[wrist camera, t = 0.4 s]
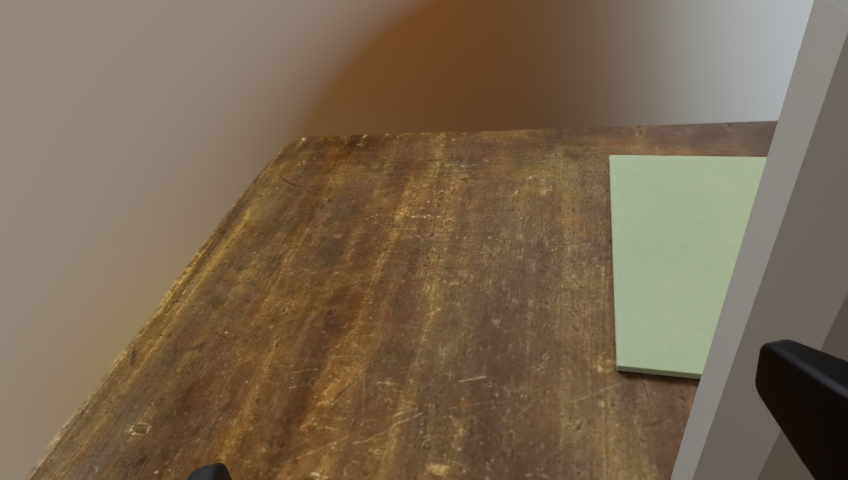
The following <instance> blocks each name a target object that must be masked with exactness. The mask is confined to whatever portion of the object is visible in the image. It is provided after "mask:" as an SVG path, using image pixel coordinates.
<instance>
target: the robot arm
mask: <svg viewBox="0 0 848 480" xmlns="http://www.w3.org/2000/svg"><path fill="white" fill-rule="evenodd" d="M755 385H756V389H757V392H758V394H759V396H760V398H761V399H762V401H763V402H764V404H765V405H766V407H767V408H768V410H769V411H770V413H771V414H772V416H773V417H774V419H775V421H776V422H777V424H778V425H779V427H780V428H781V430H782V431H783V433H784V434H785V436H786V437H787V439H788V441H789V442H790V444H791V445H792V447H793V448H794V450H795V451H796V453H797V454H798V456H799V457H800V459H801V461H802V462H803V464H804V465H805V466H806V468H807V469H808V471H809V472H810V474H811V475H812V476H813V478H814V479H815V480H848V361H846V360H843V359H840V358H838V357H835V356H832V355H830V354H827V353H825V352H822V351H819V350H817V349H814V348H811V347H809V346H806V345H803V344H801V343H798V342H796V341H793V340H789V339H783V340H778V341H773V342H769V343H765V344H763V346H762V347H761V348H760V352H759V358H758V364H757V370H756V377H755ZM187 480H232V479H231V477H230V474H229V472H228V470H227V468H226V466H225V465H224V464H222V463H215V464H211V465H206V466H201V467H198V468H196V469H195V470H194V471H193V472H192V473H191V475H190V476H189V477H188V478H187Z"/></svg>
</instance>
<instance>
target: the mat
mask: <svg viewBox="0 0 848 480" xmlns="http://www.w3.org/2000/svg"><path fill="white" fill-rule="evenodd" d="M766 160H767V157H713V156H639V155H610V156H609V168H610V197H611V226H612V255H613V283H614V312H615V341H616V369H617V371H627V372H636V373H646V374H655V375H665V376H674V377H684V378H694V379H701V376H702V373H703V370H704V366H705V363H706V360H707V356H708V353H709V350H710V346H711V343H712V340H713V336H714V333H715V330H716V326H717V323H718V320H719V316H720V313H721V310H722V306H723V303H724V300H725V296H726V293H727V290H728V286H729V283H730V280H731V276H732V273H733V270H734V266H735V263H736V260H737V256H738V253H739V250H740V246H741V243H742V240H743V236H744V233H745V230H746V226H747V223H748V220H749V216H750V213H751V210H752V206H753V203H754V200H755V196H756V193H757V190H758V186H759V183H760V180H761V176H762V173H763V170H764V166H765V163H766Z"/></svg>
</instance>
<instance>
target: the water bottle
mask: <svg viewBox="0 0 848 480" xmlns="http://www.w3.org/2000/svg"><path fill="white" fill-rule="evenodd" d="M783 339H789V340H793V341H796V342H798V343H801V344H803V345H806V346H809V347H811V348H814V349H817V350H819V351H822V352H825V353H827V354H830V355H832V356H835V357H838V358H840V359H843V360H846V361H848V0H814V3H813V7H812V10H811V14H810V17H809V20H808V23H807V27H806V30H805V33H804V37H803V40H802V43H801V47H800V50H799V53H798V57H797V60H796V63H795V67H794V70H793V73H792V77H791V80H790V83H789V87H788V90H787V93H786V97H785V100H784V103H783V107H782V110H781V113H780V116H779V120H778V123H777V126H776V130H775V133H774V136H773V140H772V143H771V146H770V150H769V153H768V156H767V160H766V163H765V166H764V170H763V173H762V176H761V180H760V183H759V186H758V190H757V193H756V196H755V200H754V203H753V206H752V210H751V213H750V216H749V220H748V223H747V226H746V230H745V233H744V236H743V240H742V243H741V246H740V250H739V253H738V256H737V260H736V263H735V266H734V270H733V273H732V276H731V280H730V283H729V286H728V290H727V293H726V296H725V300H724V303H723V306H722V310H721V313H720V316H719V320H718V323H717V326H716V330H715V333H714V336H713V340H712V343H711V346H710V350H709V353H708V356H707V360H706V363H705V366H704V370H703V373H702V376H701V380H700V383H699V386H698V390H697V393H696V396H695V399H694V403H693V406H692V409H691V413H690V416H689V419H688V423H687V426H686V429H685V433H684V436H683V439H682V443H681V446H680V449H679V453H678V456H677V459H676V463H675V466H674V469H673V473H672V476H671V480H815V479H814V478H813V476H812V475H811V474H810V472H809V471H808V469H807V468H806V466H805V465H804V464H803V462H802V461H801V459H800V457H799V456H798V454H797V453H796V451H795V450H794V448H793V447H792V445H791V444H790V442H789V441H788V439H787V437H786V436H785V434H784V433H783V431H782V430H781V428H780V427H779V425H778V424H777V422H776V421H775V419H774V417H773V416H772V414H771V413H770V411H769V410H768V408H767V407H766V405H765V404H764V402H763V401H762V399H761V398H760V396H759V394H758V392H757V389H756V385H755V377H756V370H757V364H758V358H759V352H760V348H761V347H762V346H763V344H765V343H769V342H773V341H778V340H783Z"/></svg>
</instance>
